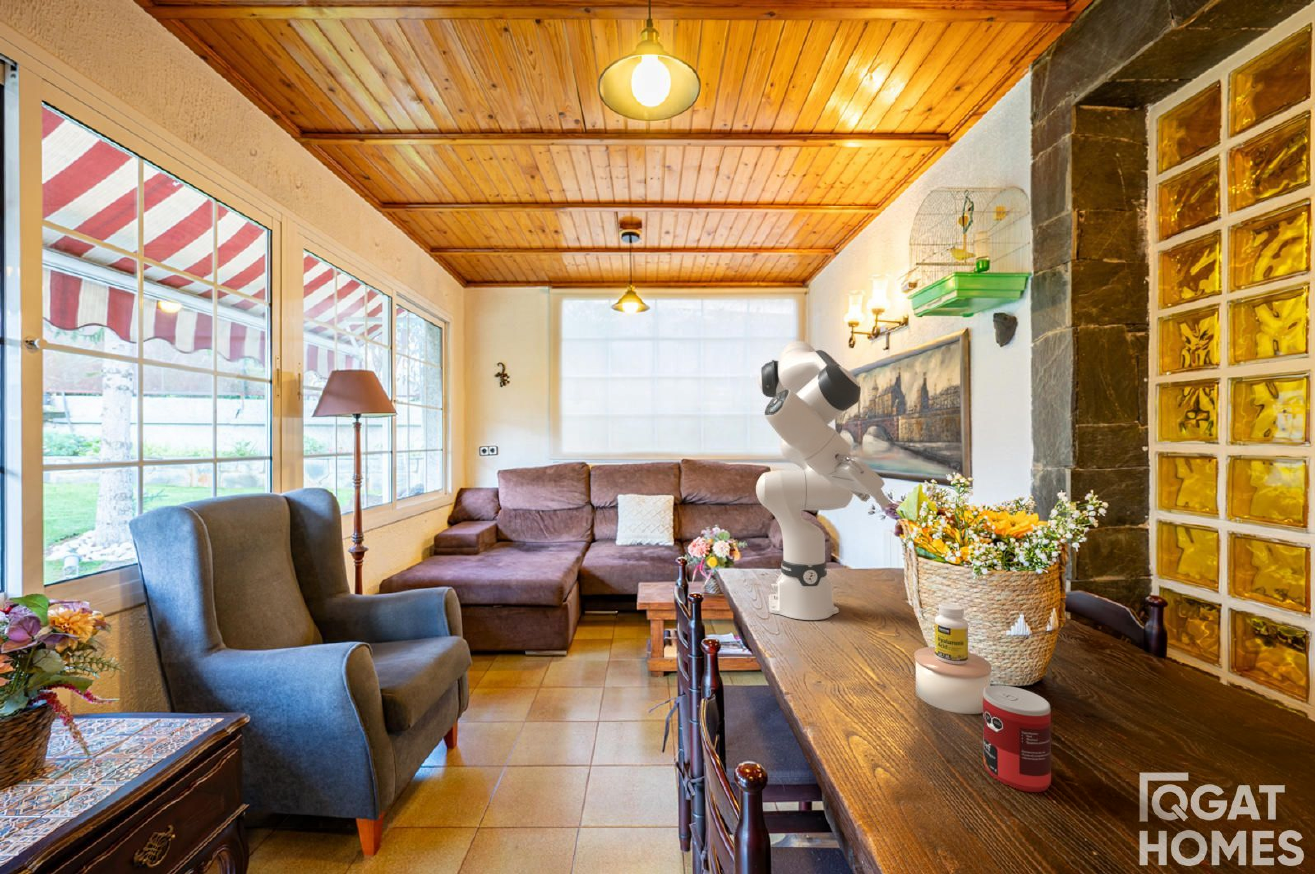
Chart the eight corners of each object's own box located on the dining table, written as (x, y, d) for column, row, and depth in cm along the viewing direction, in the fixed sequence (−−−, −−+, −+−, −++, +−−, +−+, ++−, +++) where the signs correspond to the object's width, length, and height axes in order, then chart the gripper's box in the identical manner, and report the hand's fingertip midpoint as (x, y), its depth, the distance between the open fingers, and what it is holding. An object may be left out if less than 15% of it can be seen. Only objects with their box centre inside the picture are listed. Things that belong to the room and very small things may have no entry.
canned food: (987, 752, 81) (987, 679, 81) (1053, 773, 76) (1052, 695, 76) (978, 777, 75) (978, 698, 75) (1049, 801, 70) (1048, 717, 70)
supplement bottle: (933, 661, 98) (932, 607, 98) (936, 651, 103) (936, 600, 103) (967, 667, 95) (967, 612, 95) (969, 657, 100) (968, 604, 100)
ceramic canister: (902, 683, 105) (902, 647, 105) (965, 682, 105) (965, 646, 105) (936, 715, 92) (936, 674, 92) (1007, 714, 93) (1007, 673, 93)
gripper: (859, 444, 101) (911, 496, 101) (823, 443, 122) (867, 486, 122) (835, 468, 101) (887, 519, 101) (804, 463, 122) (847, 506, 122)
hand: (876, 501), depth 112 cm, fingers open, 8 cm apart
